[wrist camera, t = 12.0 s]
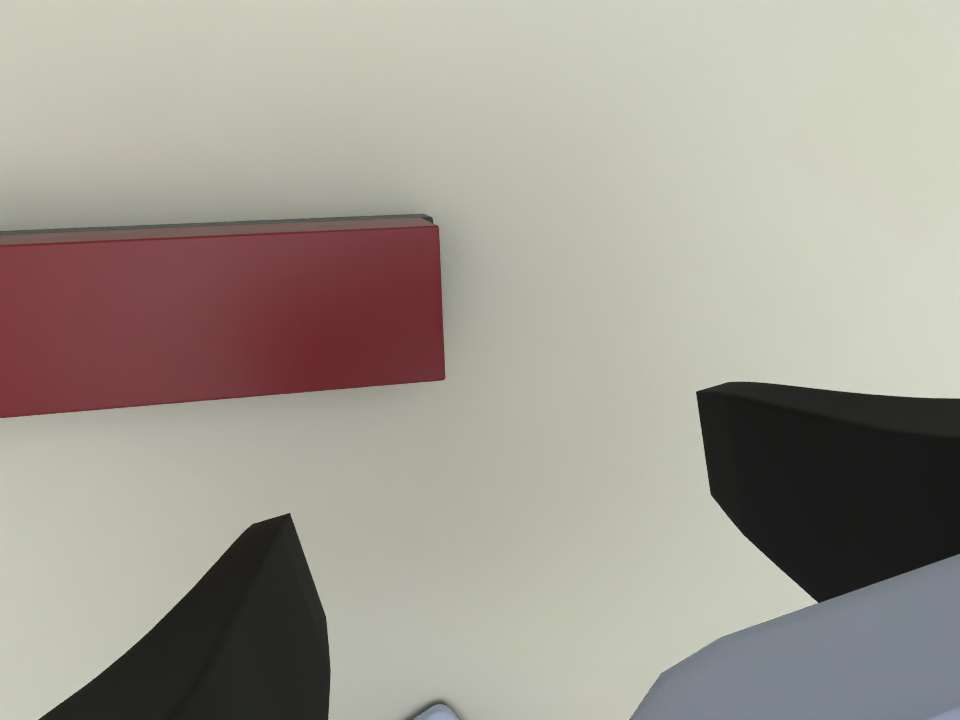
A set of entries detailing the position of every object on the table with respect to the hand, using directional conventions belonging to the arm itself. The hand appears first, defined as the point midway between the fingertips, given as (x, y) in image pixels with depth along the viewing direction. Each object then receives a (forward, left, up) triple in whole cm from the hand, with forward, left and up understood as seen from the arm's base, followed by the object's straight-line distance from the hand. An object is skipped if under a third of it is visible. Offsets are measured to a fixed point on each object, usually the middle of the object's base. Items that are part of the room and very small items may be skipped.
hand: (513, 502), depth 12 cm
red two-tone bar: (-4, +5, -10) cm, 12 cm away
